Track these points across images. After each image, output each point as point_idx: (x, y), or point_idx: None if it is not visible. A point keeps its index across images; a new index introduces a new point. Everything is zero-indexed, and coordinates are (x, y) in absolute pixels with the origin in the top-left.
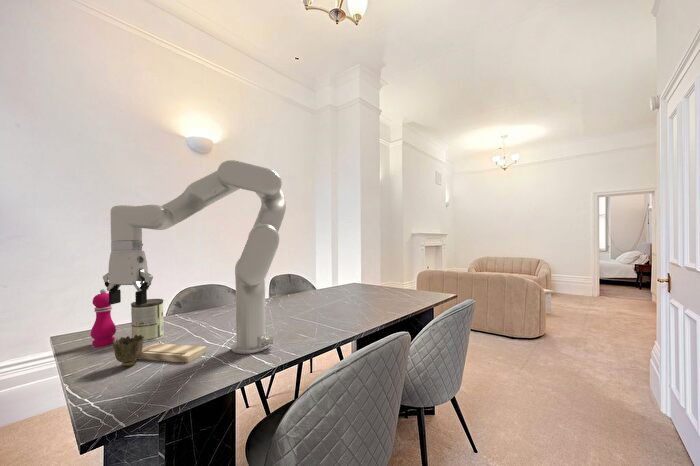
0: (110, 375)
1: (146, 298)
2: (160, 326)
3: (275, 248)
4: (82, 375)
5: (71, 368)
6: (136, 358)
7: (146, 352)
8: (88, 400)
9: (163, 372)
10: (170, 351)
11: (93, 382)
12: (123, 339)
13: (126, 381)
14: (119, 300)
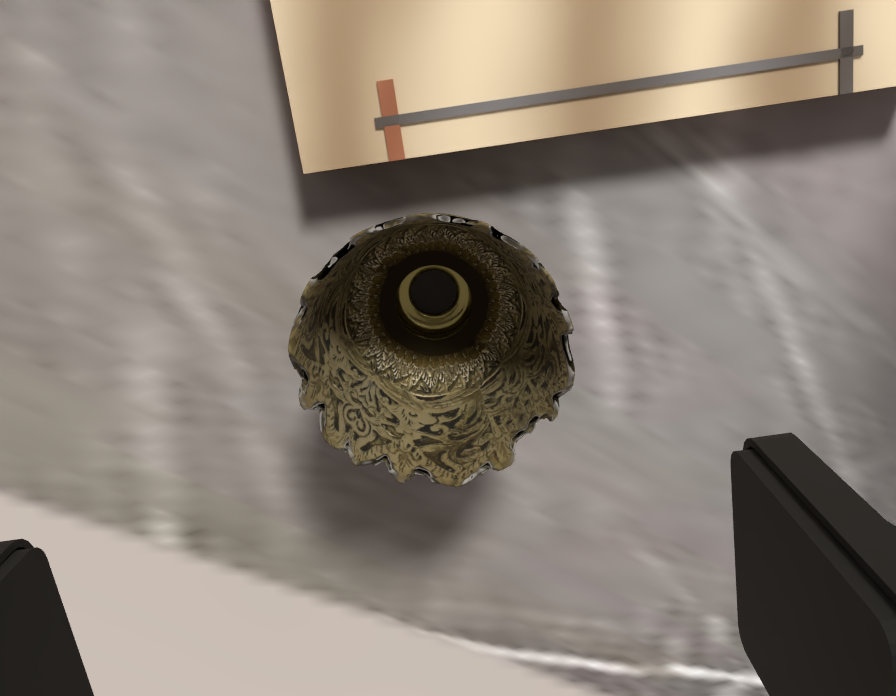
0: None
1: (830, 478)
2: None
3: None
4: (283, 509)
5: (47, 468)
6: (509, 290)
7: (435, 143)
8: (708, 672)
9: (837, 289)
10: (655, 41)
11: (486, 545)
12: (304, 328)
13: (695, 469)
14: (30, 593)
